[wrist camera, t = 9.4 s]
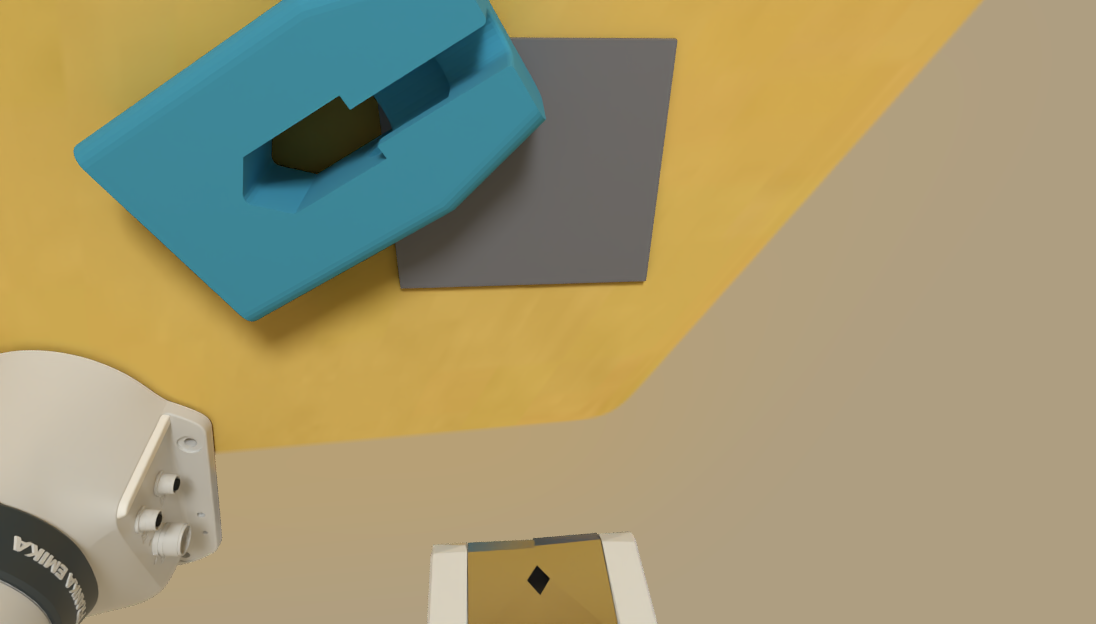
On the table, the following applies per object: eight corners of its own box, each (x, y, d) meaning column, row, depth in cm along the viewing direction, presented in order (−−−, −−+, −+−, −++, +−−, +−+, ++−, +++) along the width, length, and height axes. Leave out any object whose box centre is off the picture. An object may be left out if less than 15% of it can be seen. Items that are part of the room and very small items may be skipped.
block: (430, -104, 29) (117, 117, 34) (419, -97, 25) (65, 152, 30) (556, 121, 35) (278, 280, 40) (564, 155, 31) (253, 328, 36)
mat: (644, 277, 43) (645, 280, 42) (401, 285, 41) (400, 288, 41) (675, 38, 34) (677, 40, 34) (370, 36, 33) (369, 38, 32)
